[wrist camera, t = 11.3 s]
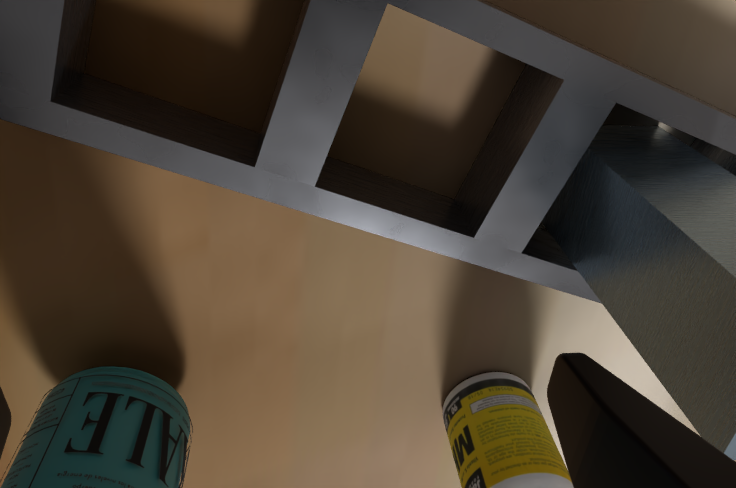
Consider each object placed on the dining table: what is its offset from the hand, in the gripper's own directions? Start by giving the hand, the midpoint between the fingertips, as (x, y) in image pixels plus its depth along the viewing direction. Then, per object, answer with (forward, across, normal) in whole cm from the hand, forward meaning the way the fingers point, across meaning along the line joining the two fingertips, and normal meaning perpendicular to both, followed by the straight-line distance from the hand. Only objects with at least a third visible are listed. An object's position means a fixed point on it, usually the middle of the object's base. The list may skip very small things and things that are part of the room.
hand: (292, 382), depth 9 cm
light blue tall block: (+13, -12, +2) cm, 18 cm away
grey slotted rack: (+13, -4, 0) cm, 14 cm away
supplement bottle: (+13, -9, +15) cm, 22 cm away
